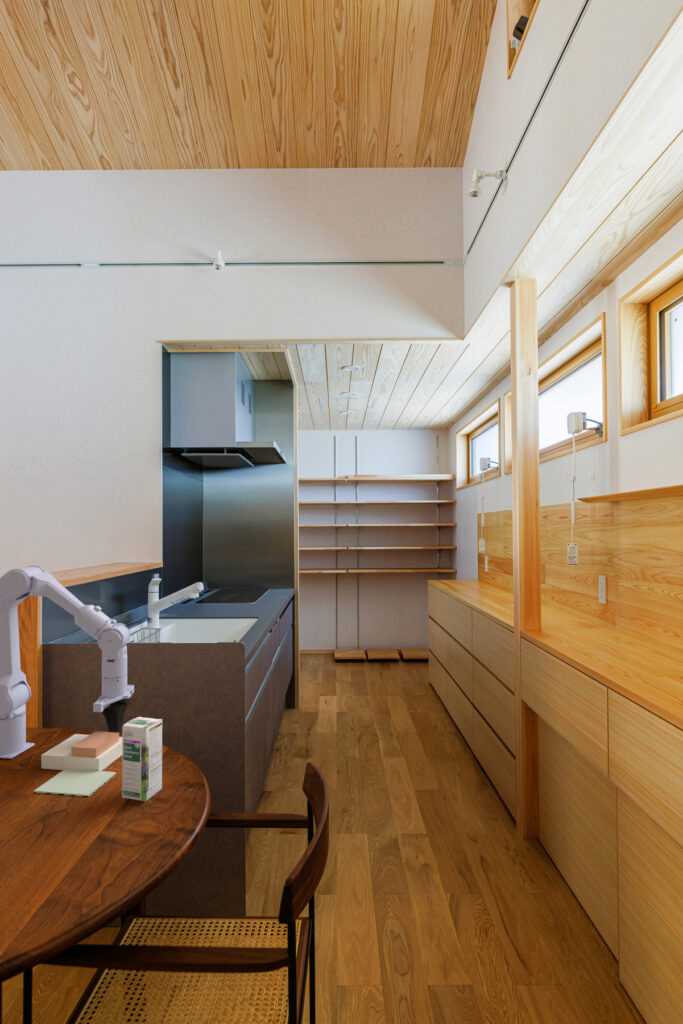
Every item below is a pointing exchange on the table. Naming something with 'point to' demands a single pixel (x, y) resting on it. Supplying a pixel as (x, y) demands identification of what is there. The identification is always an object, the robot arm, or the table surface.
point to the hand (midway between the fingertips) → (114, 731)
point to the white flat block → (63, 760)
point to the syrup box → (141, 758)
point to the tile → (95, 744)
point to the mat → (75, 782)
